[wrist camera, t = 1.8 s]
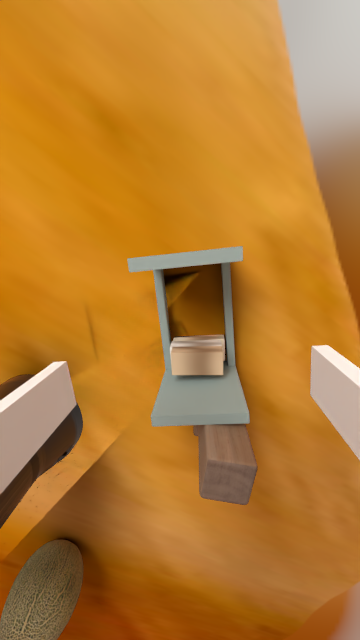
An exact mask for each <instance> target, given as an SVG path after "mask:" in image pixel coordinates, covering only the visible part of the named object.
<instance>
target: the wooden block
mask: <svg viewBox="0 0 360 640" xmlns="http://www.w3.org/2000/svg"><path fill="white" fill-rule="evenodd" d="M193 433H194V435H195V436H199V492H200V496H201V497H202V498H205V499H211V500H217V501H223V502H229V503H235V504H241V505H246V504H248V502H249V498H250V494H251V491H252V487H253V483H254V479H255V476H256V472H257V468H258V467H257V463H256V459H255V456H254V453H253V449H252V446H251V442H250V439H249V435H248V432H247V428H246V425H245V423H244V424H213V425H194V428H193Z"/></svg>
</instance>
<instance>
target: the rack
mask: <svg viewBox="0 0 360 640" xmlns="http://www.w3.org/2000/svg"><path fill="white" fill-rule="evenodd" d="M127 260H128V266H129V272H137V271H147V270H153V272H154V280H155V288H156V296H157V304H158V312H159V320H160V328H161V336H162V344H163V352H164V360H165V368H166V371H165V374H164V377H163V380H162V383H161V386H160V389H159V393H158V396H157V399H156V402H155V405H154V408H153V411H152V414H151V421H152V426H182V425H213V424H244V423H250V419H249V410H248V407H247V404H246V400H245V397H244V393H243V390H242V387H241V383H240V380H239V376H238V373H237V370H236V366H235V349H234V330H233V311H232V292H231V274H230V262H236V261H243V248H242V246H240V247H231V248H221V249H212V250H203V251H194V252H184V253H175V254H166V255H156V256H147V257H138V258H128V259H127ZM216 263H221V272H222V288H223V305H224V321H225V337H226V353H227V361H223V375H172V368H171V356H170V346H171V343H172V342H171V333H170V325H169V316H168V308H167V299H166V290H165V282H164V273H163V269H167V268H177V267H187V266H197V265H207V264H216Z"/></svg>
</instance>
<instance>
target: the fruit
mask: <svg viewBox="0 0 360 640" xmlns="http://www.w3.org/2000/svg"><path fill="white" fill-rule="evenodd" d="M82 581H83V560H82V556H81V553H80V551H79V549H78V547H77V546H76V545H74V544H73V543H71V542H69V541H67V540H63V539H59V540H53V541H50V542H48V543H46V544H44V545H43V546H42V547H40V548H39V549H38V550H37V551H36V552H35V553H34V554H33V555H32V556H31V557H30V558H29V559H28V561H27V562H26V563H25V565H24V566H23V568H22V569H21V571H20V573H19V574H18V576H17V577H16V579H15V581H14V583H13V586H12V588H11V590H10V592H9V595H8V597H7V600H6V603H5V606H4V609H3V612H2V616H1V621H0V640H57V638H58V637H59V636H60V634H61V633H62V631H63V630H64V628H65V626H66V625H67V623H68V621H69V619H70V617H71V615H72V613H73V611H74V608H75V606H76V603H77V600H78V598H79V594H80V591H81V586H82Z"/></svg>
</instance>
